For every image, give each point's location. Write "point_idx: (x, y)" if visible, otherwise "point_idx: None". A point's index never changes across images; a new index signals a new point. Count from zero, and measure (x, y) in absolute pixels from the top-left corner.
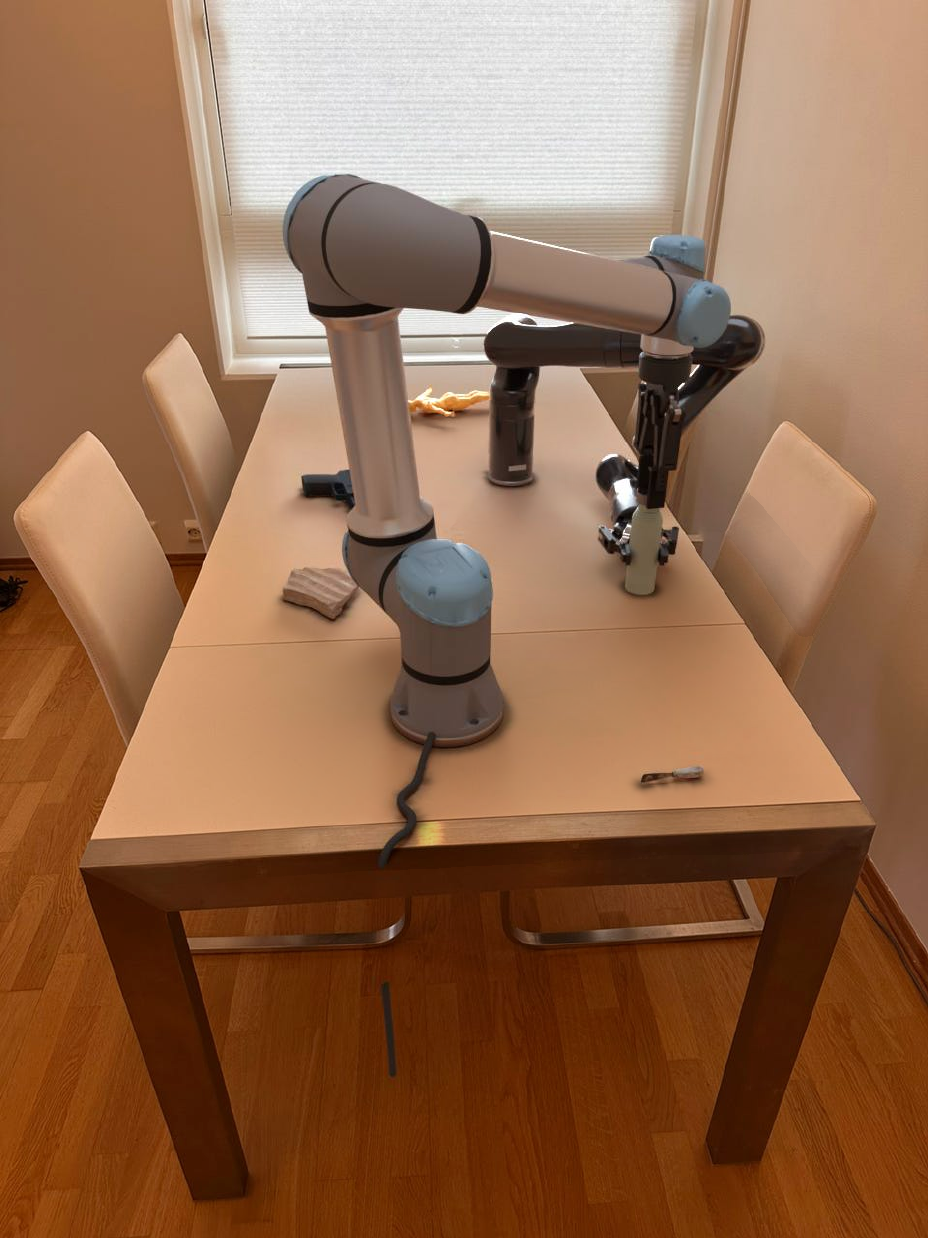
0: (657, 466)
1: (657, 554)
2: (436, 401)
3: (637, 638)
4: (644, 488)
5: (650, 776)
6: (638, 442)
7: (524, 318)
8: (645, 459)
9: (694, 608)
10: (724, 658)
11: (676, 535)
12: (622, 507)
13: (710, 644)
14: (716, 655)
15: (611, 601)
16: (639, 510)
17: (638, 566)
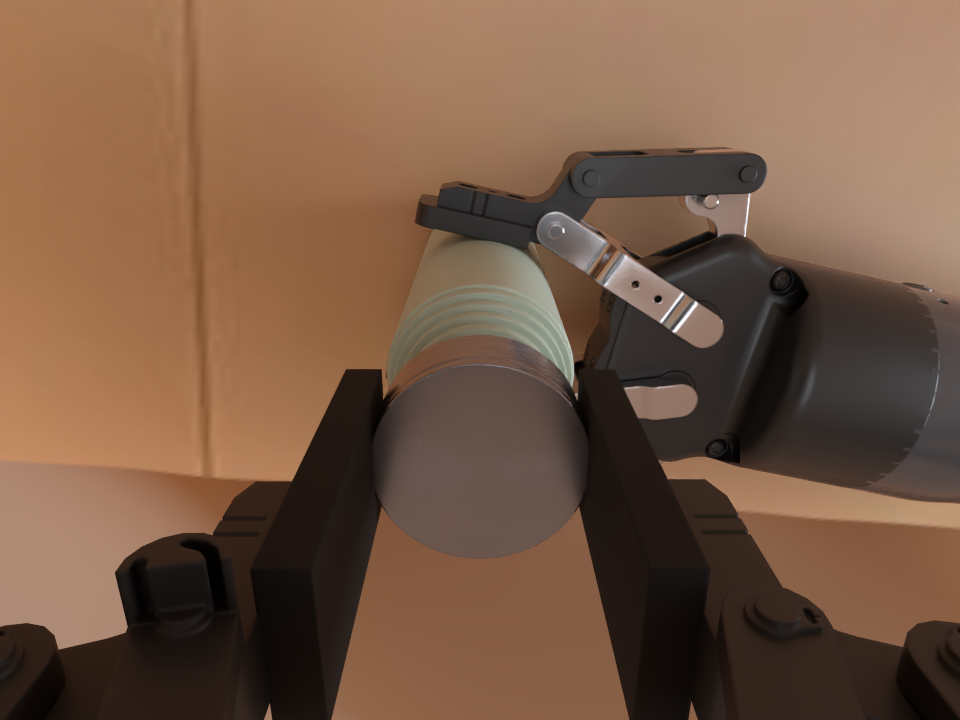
0: (123, 649)
1: None
2: None
3: (120, 125)
4: (535, 437)
5: None
6: (922, 692)
7: None
8: (638, 600)
9: (312, 394)
10: (3, 370)
11: None
12: (858, 332)
13: (85, 360)
14: (20, 354)
15: (398, 113)
16: (468, 335)
17: (425, 254)
